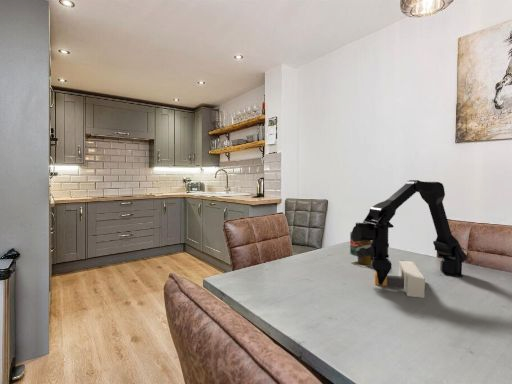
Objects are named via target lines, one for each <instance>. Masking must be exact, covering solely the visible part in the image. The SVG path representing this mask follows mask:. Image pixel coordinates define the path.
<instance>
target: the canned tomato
mask: <svg viewBox="0 0 512 384" xmlns="http://www.w3.org/2000/svg"><path fill="white" fill-rule="evenodd" d="M349 233H350V234H349V236H350V239H349V240H350V242H349V243H350V245H349V246H350V247H349V248H350V249H349V254H350V255H353V256H358V255H357V252H356V248H358V243H359V241H355V240H354V238H353V236H352V231H350V232H349Z"/></svg>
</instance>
